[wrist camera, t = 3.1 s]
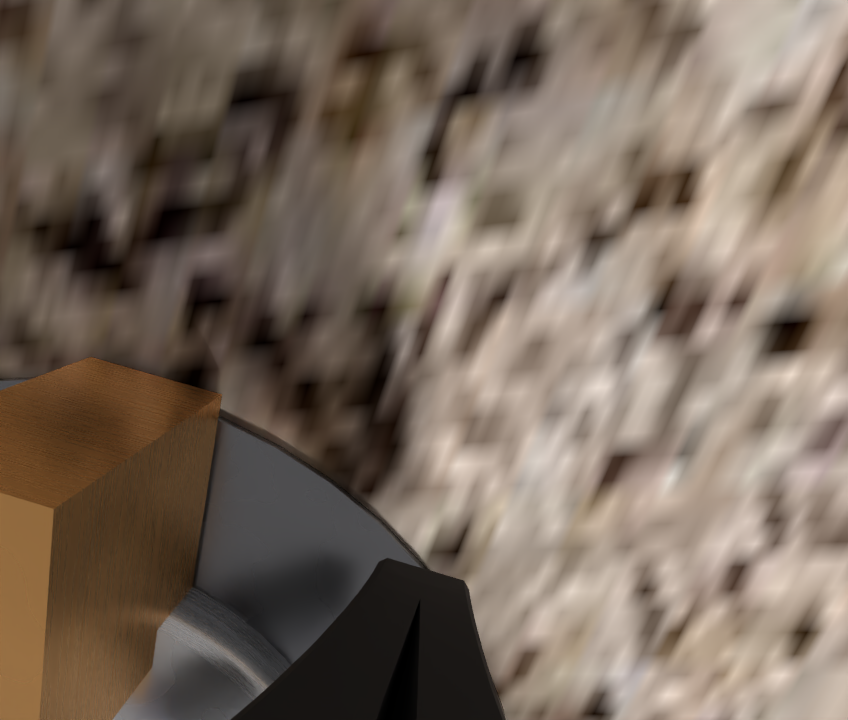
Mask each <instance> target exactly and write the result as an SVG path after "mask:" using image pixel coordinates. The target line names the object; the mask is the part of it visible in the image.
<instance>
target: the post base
mask: <svg viewBox="0 0 848 720" xmlns="http://www.w3.org/2000/svg"><path fill="white" fill-rule="evenodd" d="M30 379H33V378H19V379H0V390H3V389H6V388H8V387H11V386H14V385H16V384H19V383H22V382H24V381H27V380H30ZM386 558H390V559H393V560H397V561H400V562H403V563H407V564H410V565H413V566H416V567H420V568H423V569H426V568H425V567H424V565H423V564H422V563H421V562H420V561H419V560H418V559H417V558H416V557H415V556H414V555H413V554H412V553H411V552H410V550H409V549H408V548H407V547H406V546H405V545H404V544H403V543H402V542H401V541H400V540H399V539H398V538H397V537H396V536H395V535H394V534H393V533H392V532H391V531H390V529H389V528H388V527H387V526H386V525H385V524H384V523H383V522H382V521H381V520H380V519H379V518H377V517H376V516H375V515H374V514H373V513H371V512H370V511H369V510H368V509H367V508H365V507H364V506H363V505H362V504H360V503H359V502H358V501H357V500H356V499H354V498H353V497H352V496H351V495H350V494H348V493H347V492H346V491H345V490H344V489H342V488H341V487H340V486H339V485H337V484H336V483H335V482H334V481H333V480H331V479H330V478H328V477H327V476H325V475H324V474H322V473H320V472H319V471H317V470H316V469H314V468H313V467H311V466H310V465H308V464H307V463H305V462H303V461H302V460H300V459H299V458H297V457H296V456H294V455H293V454H291V453H290V452H288V451H287V450H285V449H283V448H282V447H280V446H279V445H277V444H275V443H273V442H271V441H269V440H267V439H265V438H263V437H261V436H259V435H257V434H255V433H253V432H251V431H249V430H247V429H245V428H243V427H241V426H239V425H237V424H234V423H232V422H230V421H228V420H226V419H224V418H222V417H220V416H219V417H218V424H217V430H216V437H215V443H214V449H213V456H212V462H211V469H210V475H209V482H208V488H207V495H206V501H205V508H204V514H203V521H202V527H201V533H200V540H199V546H198V553H197V559H196V566H195V572H194V579H193V585H192V587H193V588H195V589H197V590H199V591H201V592H203V593H204V594H206V595H207V596H209V597H210V598H212V599H214V600H215V601H217V602H218V603H220V604H221V605H223V606H225V607H226V608H228V609H229V610H231V611H232V612H233V613H235V614H236V615H237V616H239V617H240V618H241V619H242V620H244V621H245V622H246V623H247V624H249V625H250V626H251V627H252V628H254V629H255V630H256V631H257V632H259V633H260V634H261V635H262V636H263V637H264V638H265V639H266V640H267V641H268V642H269V643H270V644H271V645H272V646H273V647H274V648H275V649H276V650H277V651H278V652H279V653H280V654H281V655H282V656H283V657H284V658H285V659H286V660H287V661H288V663H289V664H290V665H292V664H293V663H294V662H295V661H296V660H297V659H298V658H299V657H300V656H301V655H302V654H303V653H304V652H305V651H306V650H307V649H308V648H309V647H310V646H311V645H312V644H313V643H314V642H315V641H316V640H317V639H318V638H319V637H320V636H321V635H322V634H323V633H324V632H325V630H326V629H327V628H328V627H329V626H330V625H331V624H332V623H333V622H334V621H335V619H336V618H337V617H338V616H339V615H340V614H341V613H342V612H343V611H344V609H345V608H346V607H347V606H348V605H349V603H350V602H351V601H352V600H353V599H354V597H355V596H356V595H357V594H358V592H359V591H360V590H361V588H362V587H363V586H364V584H365V583H366V582H367V580H368V579H369V577H370V576H371V574H372V573H373V571H374V569H375V568H376V566H377V564H378V562H379V561H381V560H384V559H386ZM426 570H427V569H426ZM491 679H492V678H491ZM492 682H493V681H492ZM493 684H494V683H493ZM494 687H495V686H494ZM495 690H496V688H495ZM496 693H497V691H496ZM497 696H498V694H497ZM498 699H499V696H498ZM499 702H500V705H501V708H502V711H503V714H504V710H503V707H502V704H501V701H500V699H499ZM504 717H505V715H504ZM505 720H506V719H505Z"/></svg>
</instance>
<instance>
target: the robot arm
mask: <svg viewBox="0 0 848 720" xmlns="http://www.w3.org/2000/svg"><path fill="white" fill-rule="evenodd" d="M230 720H505V717H504V714H503V711H502V708H501V705H500V702H499V699H498V696H497V693H496V690H495V687H494V684H493V682H492V679H491V676H490V673H489V669H488V666H487V663H486V659H485V656H484V653H483V649H482V646H481V642H480V638H479V635H478V631H477V627H476V623H475V619H474V614H473V610H472V605H471V600H470V594H469V589H468V587H467V585H466V584H465V582H464V581H463V580H460V579H456V578H453V577H450V576H446V575H443V574H440V573H436V572H433V571H430V570H426V569H423V568H420V567H416V566H413V565H410V564H407V563H403V562H400V561H397V560H393V559H390V558H386V559H384V560H381V561H379V562H378V564H377V566H376V568H375V569H374V571H373V573H372V574H371V576H370V577H369V579H368V580H367V582H366V583H365V584H364V586H363V587H362V588H361V590H360V591H359V592H358V594H357V595H356V596H355V597H354V599H353V600H352V601H351V602H350V603H349V605H348V606H347V607H346V608H345V609H344V611H343V612H342V613H341V614H340V615H339V616H338V617H337V618H336V619H335V621H334V622H333V623H332V624H331V625H330V626H329V627H328V628H327V629H326V630H325V632H324V633H323V634H322V635H321V636H320V637H319V638H318V639H317V640H316V641H315V642H314V643H313V644H312V645H311V646H310V647H309V648H308V649H307V650H306V651H305V652H304V653H303V654H302V655H301V656H300V657H299V658H298V659H297V660H296V661H295V662H294V663H293V664H292V665H291V666H290V667H289V668H288V669H287V670H286V671H284V672H283V673H282V674H281V675H280V676H279V677H278V678H277V679H276V680H275V681H274V682H273V683H272V684H271V685H270V686H269V687H268V688H266V689H265V690H264V691H263V692H262V693H261V694H260V695H259V696H257V697H256V698H255V699H254V700H253V701H252V702H251V703H249V704H248V705H247V706H246V707H245V708H244V709H242V710H241V711H240V712H239V713H238V714H236V715H235V716H234V717H233V718H232V719H230Z"/></svg>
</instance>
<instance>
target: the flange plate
mask: <svg viewBox="0 0 848 720" xmlns="http://www.w3.org/2000/svg"><path fill="white" fill-rule="evenodd" d="M221 398H222V395H221V394H218V393H214V392H211V391H207V390H204V389H201V388H197V387H194V386H190V385H187V384H183V383H180V382H176V381H173V380H169V379H166V378H162V377H159V376H155V375H152V374H148V373H145V372H141V371H138V370H134V369H131V368H128V367H124V366H121V365H117V364H114V363H110V362H107V361H103V360H100V359H96V358H93V357H89V358H86V359H84V360H81V361H78V362H75V363H73V364H70V365H67V366H65V367H62V368H59V369H57V370H54V371H51V372H49V373H46V374H43V375H41V376H38V377H35V378H33V379H30V380H27V381H24V382H22V383H19V384H16V385H14V386H11V387H8V388H6V389H3V390H0V720H230V719H232V718H233V717H234V716H235V715H236V714H238V713H239V712H240V711H241V710H242V709H244V708H245V707H246V706H247V705H248V704H249V703H251V702H252V701H253V700H254V699H255V698H256V697H257V696H259V695H260V694H261V693H262V692H263V691H264V690H265V689H266V688H268V687H269V686H270V685H271V684H272V683H273V682H274V681H275V680H276V679H277V678H278V677H279V676H280V675H281V674H282V673H283V672H284V671H286V670H287V669H288V668H289V667H290V666H291V665H290V664H289V663H288V661H287V660H286V659H285V658H284V657H283V656H282V655H281V654H280V653H279V652H278V651H277V650H276V649H275V648H274V647H273V646H272V645H271V644H270V643H269V642H268V641H267V640H266V639H265V638H264V637H263V636H262V635H261V634H260V633H259V632H257V631H256V630H255V629H254V628H252V627H251V626H250V625H249V624H247V623H246V622H245V621H244V620H242V619H241V618H240V617H239V616H237V615H236V614H235V613H233V612H232V611H231V610H229V609H228V608H226V607H225V606H223V605H221V604H220V603H218V602H217V601H215V600H214V599H212V598H210V597H209V596H207V595H206V594H204V593H203V592H201V591H199V590H197V589H195V588H193V587H192V585H193V579H194V572H195V566H196V559H197V553H198V546H199V540H200V533H201V527H202V521H203V514H204V508H205V501H206V495H207V488H208V482H209V475H210V469H211V462H212V456H213V449H214V443H215V437H216V430H217V424H218V417H219V411H220V404H221Z"/></svg>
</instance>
